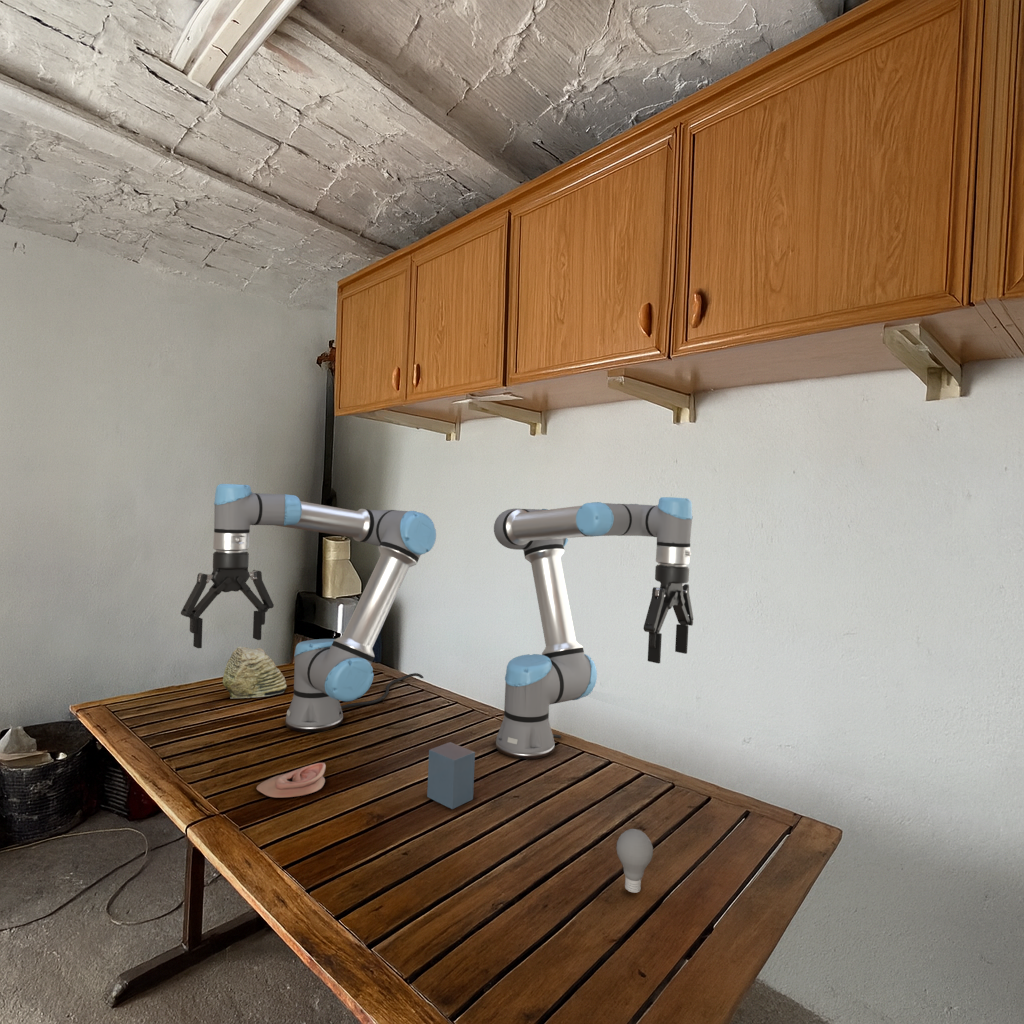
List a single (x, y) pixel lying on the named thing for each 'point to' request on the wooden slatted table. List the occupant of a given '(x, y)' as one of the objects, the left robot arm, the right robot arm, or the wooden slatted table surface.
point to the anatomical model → (295, 782)
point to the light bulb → (634, 857)
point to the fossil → (252, 674)
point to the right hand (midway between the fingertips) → (667, 657)
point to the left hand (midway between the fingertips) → (228, 643)
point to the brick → (451, 775)
